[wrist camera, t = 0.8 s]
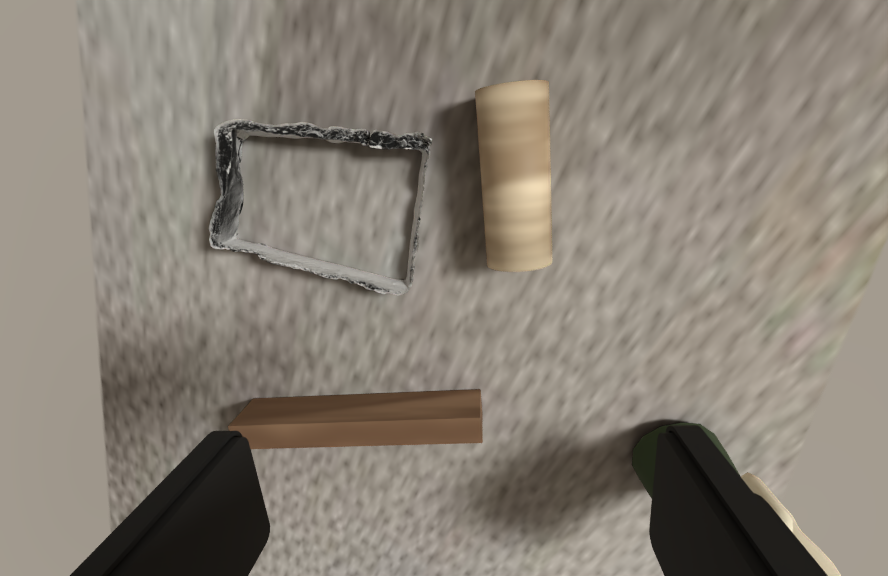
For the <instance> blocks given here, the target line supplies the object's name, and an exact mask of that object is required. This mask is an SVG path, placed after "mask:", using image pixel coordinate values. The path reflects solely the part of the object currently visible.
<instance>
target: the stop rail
mask: <svg viewBox="0 0 888 576" xmlns="http://www.w3.org/2000/svg"><path fill="white" fill-rule="evenodd" d="M228 428H229V431H239V432H240V433H241V434H242V436H243V437H246V438H247V439H248V442H249V445H250V449H270V448H308V447H345V446H382V445H419V444H456V443H482V402H481V390H480V389H475V390H450V391H426V392H402V393H377V394H353V395H329V396H304V397H280V398H256V399H252V401H251V402H250V403H249V404H248V405H247V406H246V407H245V408H244V409H243V410H242V411H241V413H240V414H239V415H238V416H237V417H236V418H235V419H234V420H233V421H232V422H231V423H230V425H229V426H228Z"/></svg>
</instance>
